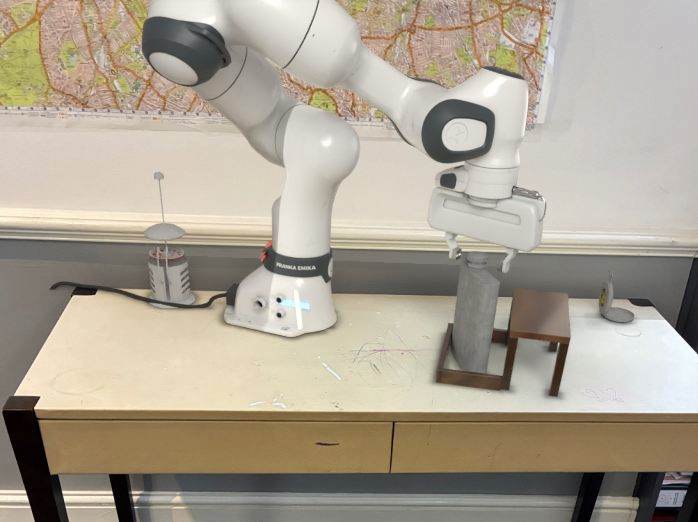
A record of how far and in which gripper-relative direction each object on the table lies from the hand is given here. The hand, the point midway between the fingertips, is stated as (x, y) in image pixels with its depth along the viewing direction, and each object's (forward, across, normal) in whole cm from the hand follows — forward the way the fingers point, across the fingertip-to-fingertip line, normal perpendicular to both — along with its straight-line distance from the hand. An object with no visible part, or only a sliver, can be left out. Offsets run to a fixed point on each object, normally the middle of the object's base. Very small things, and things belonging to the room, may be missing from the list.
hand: (478, 264), depth 136 cm
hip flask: (+18, 0, 0) cm, 18 cm away
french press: (+18, +61, +15) cm, 65 cm away
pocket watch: (+18, -14, -39) cm, 45 cm away
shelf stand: (+18, -6, -3) cm, 19 cm away
